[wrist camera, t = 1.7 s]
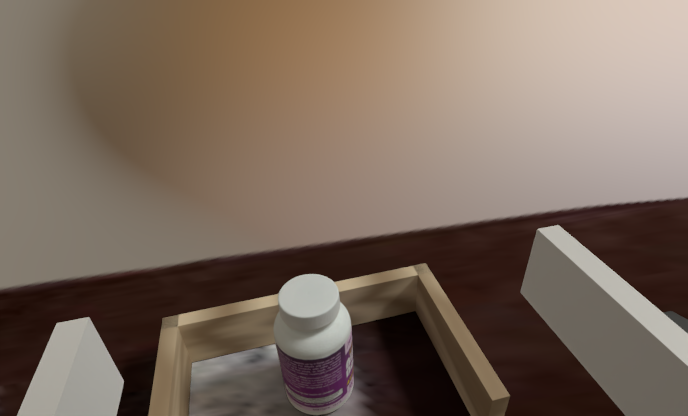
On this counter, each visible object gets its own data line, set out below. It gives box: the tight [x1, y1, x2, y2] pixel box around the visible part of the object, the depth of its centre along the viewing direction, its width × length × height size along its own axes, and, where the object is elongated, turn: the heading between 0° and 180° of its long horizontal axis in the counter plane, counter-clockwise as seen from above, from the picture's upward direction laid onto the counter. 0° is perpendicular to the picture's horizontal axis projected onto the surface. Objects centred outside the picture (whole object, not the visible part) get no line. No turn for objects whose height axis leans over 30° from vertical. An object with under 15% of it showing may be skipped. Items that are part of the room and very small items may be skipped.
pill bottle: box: [273, 274, 354, 415], centre depth 29 cm, size 5×5×10 cm
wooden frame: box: [148, 263, 510, 416], centre depth 30 cm, size 22×13×4 cm, turn 104°
